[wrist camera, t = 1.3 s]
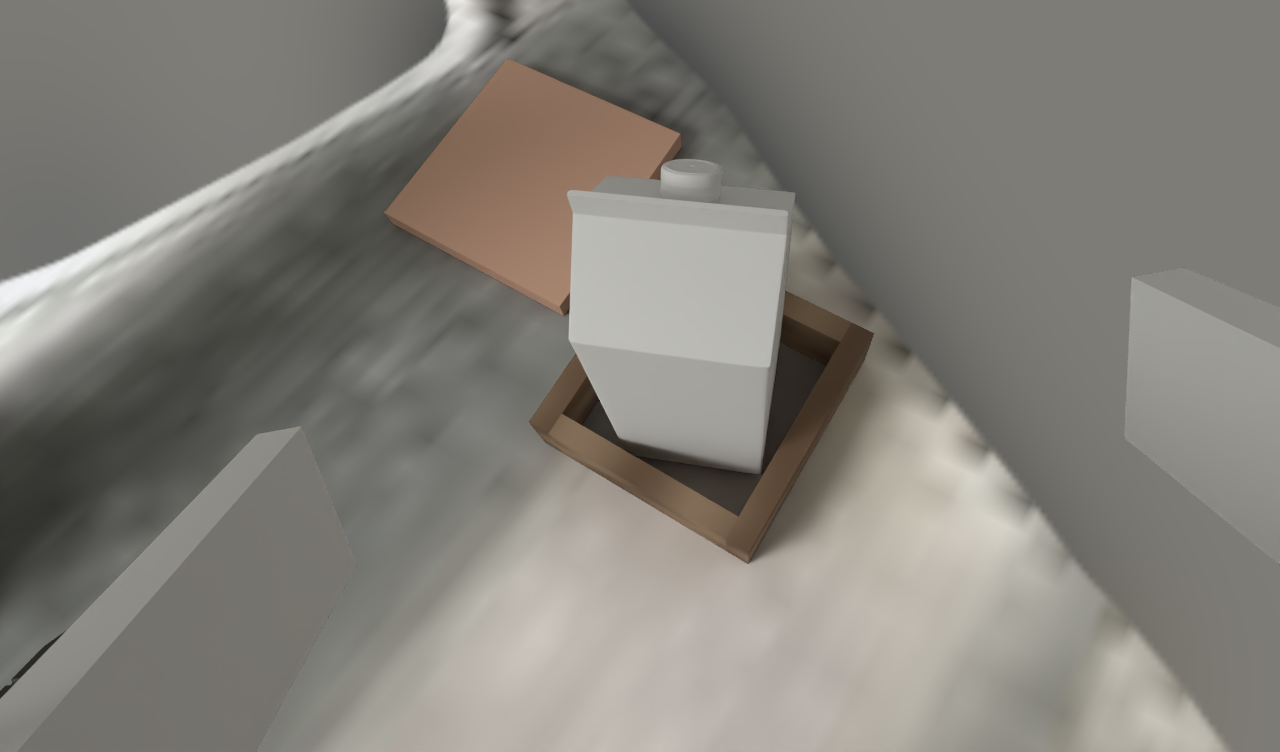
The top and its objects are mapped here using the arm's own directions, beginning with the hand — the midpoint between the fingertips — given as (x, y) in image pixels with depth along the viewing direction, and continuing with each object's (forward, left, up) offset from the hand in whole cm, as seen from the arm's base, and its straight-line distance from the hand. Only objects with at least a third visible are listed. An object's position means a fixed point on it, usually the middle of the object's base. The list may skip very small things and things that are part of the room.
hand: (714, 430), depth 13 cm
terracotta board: (-23, +15, -28) cm, 39 cm away
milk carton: (-7, +8, -28) cm, 30 cm away
